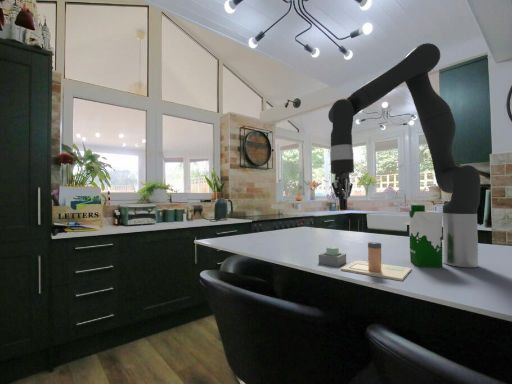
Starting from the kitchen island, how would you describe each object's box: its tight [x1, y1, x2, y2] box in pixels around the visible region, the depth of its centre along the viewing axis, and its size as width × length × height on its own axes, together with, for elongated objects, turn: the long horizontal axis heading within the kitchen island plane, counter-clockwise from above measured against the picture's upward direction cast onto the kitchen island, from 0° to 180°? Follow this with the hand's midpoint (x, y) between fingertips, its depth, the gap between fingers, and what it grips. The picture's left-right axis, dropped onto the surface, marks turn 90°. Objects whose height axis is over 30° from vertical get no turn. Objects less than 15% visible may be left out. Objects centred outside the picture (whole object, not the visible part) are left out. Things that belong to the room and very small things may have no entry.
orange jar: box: [367, 241, 382, 272], centre depth 80 cm, size 4×4×8 cm
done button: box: [325, 246, 340, 256], centre depth 93 cm, size 4×4×4 cm
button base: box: [318, 251, 347, 267], centre depth 92 cm, size 7×7×3 cm
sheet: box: [340, 259, 413, 282], centre depth 83 cm, size 14×17×1 cm
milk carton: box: [408, 204, 443, 268], centre depth 90 cm, size 9×9×20 cm
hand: (343, 210), depth 91 cm, fingers closed
